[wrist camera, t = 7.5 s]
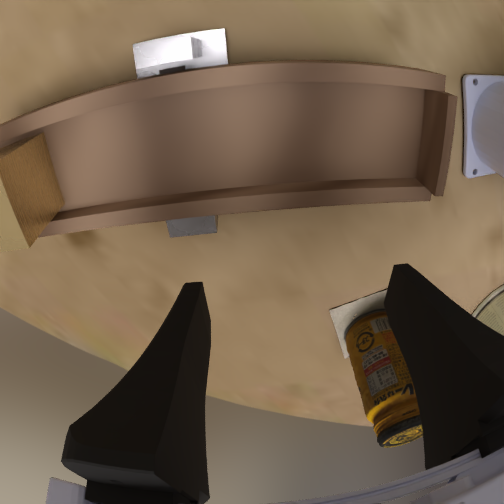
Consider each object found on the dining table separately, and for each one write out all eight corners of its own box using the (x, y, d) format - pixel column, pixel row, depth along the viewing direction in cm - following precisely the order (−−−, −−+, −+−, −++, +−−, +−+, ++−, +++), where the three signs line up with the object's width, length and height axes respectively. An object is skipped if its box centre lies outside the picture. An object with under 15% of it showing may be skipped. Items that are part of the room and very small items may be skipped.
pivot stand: (224, 29, 14) (221, 20, 10) (241, 193, 20) (244, 238, 16) (136, 44, 14) (102, 44, 10) (165, 202, 20) (148, 248, 16)
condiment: (344, 357, 32) (371, 458, 22) (328, 309, 27) (364, 434, 18) (406, 334, 31) (446, 429, 21) (404, 280, 26) (462, 394, 16)
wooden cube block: (43, 131, 12) (-5, 163, 9) (65, 203, 14) (29, 248, 11) (-14, 153, 12) (-59, 187, 9) (8, 215, 14) (-28, 256, 11)
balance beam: (412, 63, 13) (458, 74, 9) (403, 178, 17) (438, 214, 13) (-8, 124, 13) (-52, 149, 10) (23, 218, 17) (-9, 256, 14)
